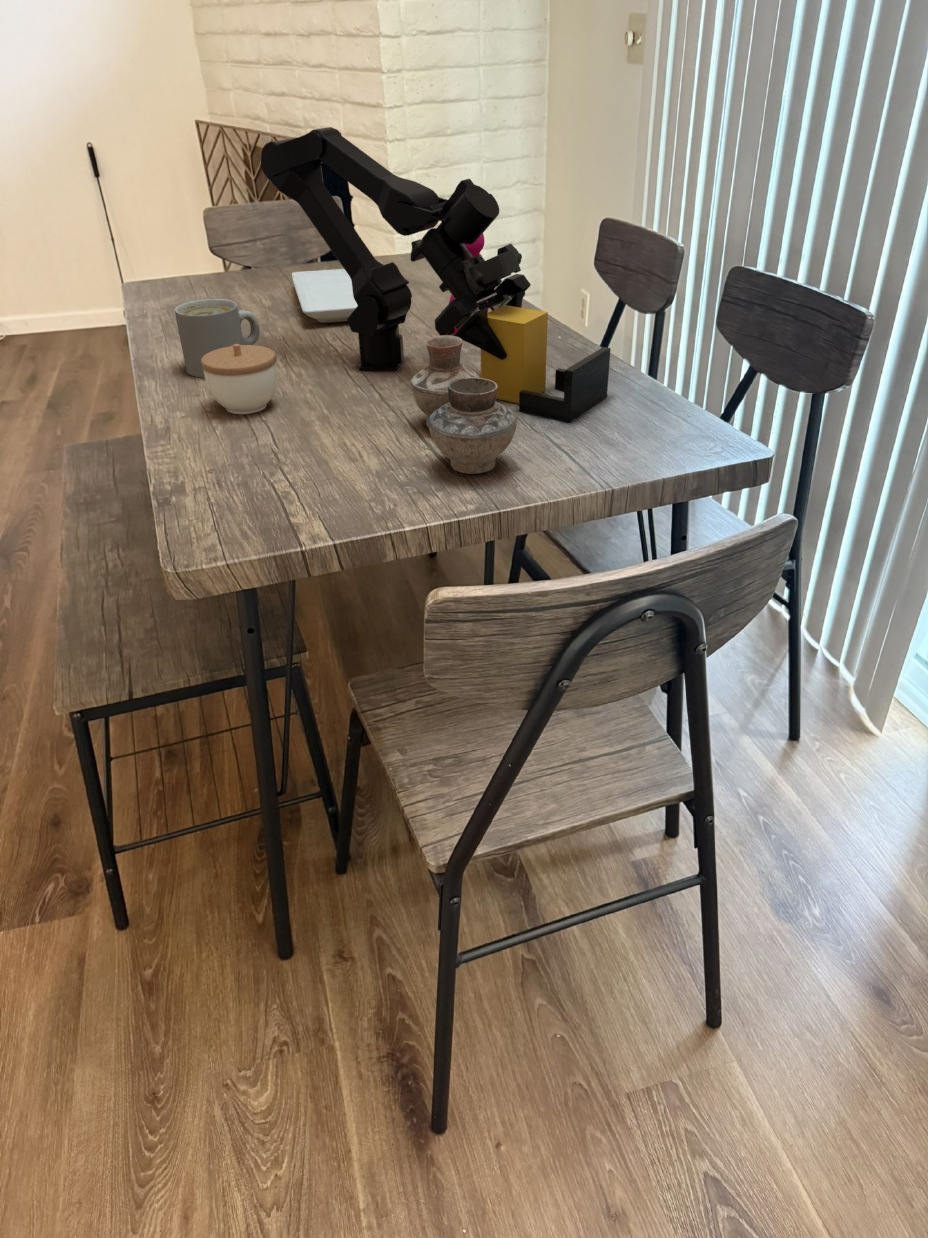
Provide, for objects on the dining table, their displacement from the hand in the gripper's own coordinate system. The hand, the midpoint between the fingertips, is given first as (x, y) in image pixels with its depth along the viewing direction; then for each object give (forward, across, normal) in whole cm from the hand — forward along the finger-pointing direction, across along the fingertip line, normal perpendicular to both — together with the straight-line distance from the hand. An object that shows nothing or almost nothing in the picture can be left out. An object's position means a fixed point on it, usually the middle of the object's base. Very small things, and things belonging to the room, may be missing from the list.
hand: (517, 351), depth 133 cm
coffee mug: (-30, -14, +39) cm, 51 cm away
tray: (-35, +25, +45) cm, 62 cm away
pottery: (+7, -21, +2) cm, 22 cm away
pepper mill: (-12, +22, +21) cm, 33 cm away
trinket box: (-18, -26, +28) cm, 42 cm away
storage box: (+4, 0, +5) cm, 7 cm away
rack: (+10, 0, -1) cm, 11 cm away
